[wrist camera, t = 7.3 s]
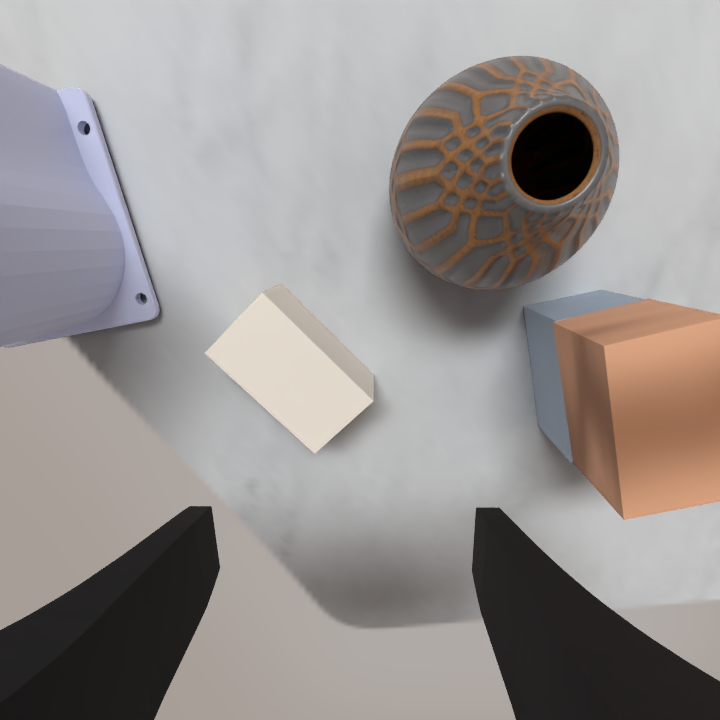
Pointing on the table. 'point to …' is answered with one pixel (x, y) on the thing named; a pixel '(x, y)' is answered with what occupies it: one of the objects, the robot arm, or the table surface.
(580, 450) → the terracotta brick
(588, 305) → the slate brick
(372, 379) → the cream brick
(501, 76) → the vase
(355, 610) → the table surface
